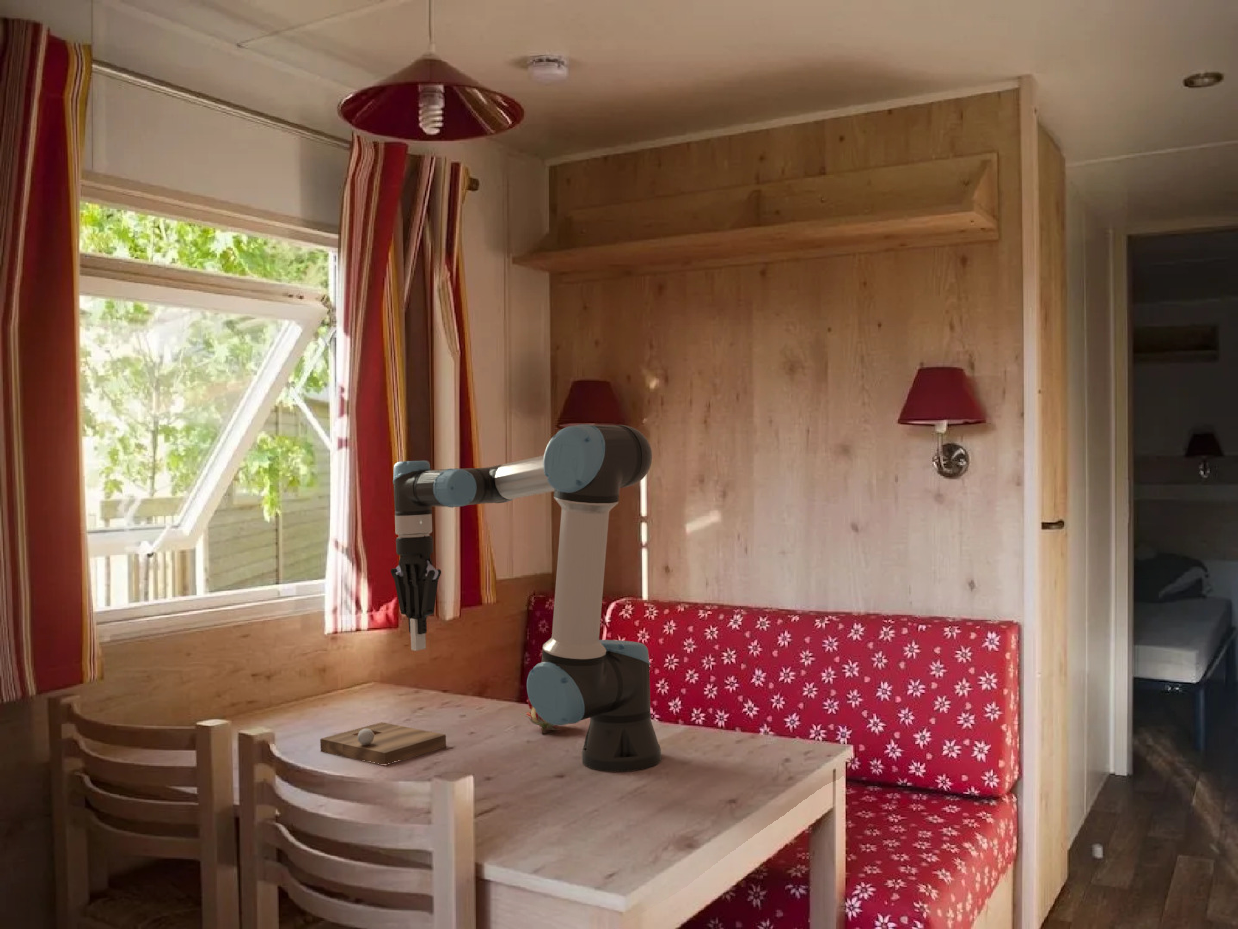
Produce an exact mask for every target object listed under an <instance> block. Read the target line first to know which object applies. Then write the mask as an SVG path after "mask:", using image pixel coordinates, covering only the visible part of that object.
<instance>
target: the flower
mask: <svg viewBox="0 0 1238 929" xmlns="http://www.w3.org/2000/svg"><path fill="white" fill-rule="evenodd" d="M526 702H527V704H528V708H529V710H530V711H529V712H526V717H527V719H529V721H530V722H531V723H532V724H534V725H535V726H539V727H541V730H540V733H541V734H542V735H545V733H546V730H547V729H549V730H550V731H558V730H561V731H562V728H557V727H558V726H559V725H553V724H550V723H548V722H546V721H545V720H543V719H542V718H541V717H540V716H539V715H538V714H537V713H536V710H535V708H534V707H532V705H531V702H530V700H529V698H528V699H526Z"/></svg>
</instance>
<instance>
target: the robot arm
mask: <svg viewBox="0 0 1238 929" xmlns="http://www.w3.org/2000/svg"><path fill="white" fill-rule="evenodd" d="M543 453H544V454H543V455H540V456H534V457H530V458H526V459H522V460H517V461H512V462H507V463H503V464H499V465H493V466H488V467H477V468H476V467H474V468H473V467H470V468H445V469H444V468H443V469H431V463H430V462H429V461H428V460H405V461H401V460H400V461H397V462H395V464H394V465H393V477H392V478H393V480H392V485H393V501H394V502H393V503H394V525H395V526H394V527H395V528H394V529H395V532H394V534H395V535H397V536H398V537H396V538H395V549H396V550H395V551H396V555H398V556H399V560H398V565H397V566H396V567H395V568H391V569H390V574H391V576H392V578H393V580H394V584H395V591H396V595H397V600H398V606H399V610H400V613H401V614H402V615H404V616H406V617H407V620H408V631H409V634H410V649H411V651H414V652H415V651H416V652H417V651H420V650H427V649H426V648H427V644H426V643H427V642H426V641H427V639H426V634H427V630H428V627H427V618H428V617H429V616H432V615H434V613H435V605H436V600H437V599H436V598H437V591H438V582H439V579H440V577H441V576H442V571H441V569H439V568H437V569H436V568H435V567H434V566H433V560H432V558H431V555H432V553H433V552H434V539H433V537H432V535H430V534H432V532H433V518H432V517H433V515H432V514H433V510H432V507H438V508H439V507H440V508H446V507H447V508H451V509H452V508H460V507H464V506H470V505H471V506H473V505H479V504H480V505H481V504H482V505H483V504H502V503H507V502H508V503H509V502H511V501H513V500H514V499H520V498H526V497H530V496H536V495H541V494H547V493H552V492H553V499H554V500H555V501H556V503H558V506H560V508H561V511H560V524H559V525H560V526H559V536H558V537H559V539H558V550H557V564H556V566H557V567H556V576H555V577H556V578H555V579H556V580H555V590H554V602H553V605H554V606H553V616H552V617H553V618H552V630H551V633H552V634H551V638H549V639H548V640H547V641H546V642H544V643H543V644H542V653H541V655H542V656H541V662H539V663H537V664H536V665H535V666H533V668H532V669H531V670H530V671H529V672H528V675H527V679H526V693H527V696H528V699H529V700H530V702H531V705H532V707H534V708H535V710H536V713H537V714H538V715H539V716H540V717H541V718H542V719H543V720H545V721H546V722H548V723H550V724H553V725H558V726H566V725H572V724H573V725H574V724H577V723H579V722H581V721H583V720H586V719H589V724H588V725H589V726H588V728H587V732H586V735H585V740H584V744H583V747H582V750H581V753H582V754H581V758H582V759H581V763H582V764H583V765H584V766H585V767H588V768H589V769H593V770H597V771H603V772H604V771H605V772H631V771H632V772H633V771H639V770H640V771H641V770H644V769H649V768H652V767H654V766H656V765H658V764H659V763H661V761H662V752H661V751H662V750H661V746H660V744H659V742H658V738H657V735H656V731H655V728H654V724H653V723H652V718H651V681H650V680H651V678H650V677H651V676H650V667H651V662H650V657H649V656H650V655H649V649H648V647H647V646H646V644H645V643H642V642H638V641H630V640H619V639H618V640H616V639H600V634H601V633H600V632H601V630H600V629H601V620H602V619H601V618H602V605H603V604H602V603H603V595H604V594H603V593H604V592H603V591H604V579H605V570H606V569H605V568H606V556H607V554H606V553H607V544H608V532H609V520H610V519H609V518H610V512H611V511H612V509H613V508H614V507H616V506H617V505H618V504H619V502H620V501H619V500H620V489H623V488H628V487H631V486H634V485H636V484H638V483H640V482H641V481H642V480H643V479H644V478H645V477H646V475H648V473H649V470H650V469H651V466H652V463H653V452H652V447H651V444H650V443H649V441H648V439H647V437H646V436H645V435H644V434H643V433H642V432H641V431H640V430H639V429H636V428H635V427H632V426H629V425H624V424H614V425H613V424H611V425H610V424H609V425H608V424H588V423H587V424H583V423H581V424H579V425H577V424H576V425H569V426H566V427H564V428H562V429H560V430H558V431H557V432H556V434H554V435H553V436H552V437H551V438H550V440H549V441H548V443H547V445H546V448H545V450H544V452H543Z"/></svg>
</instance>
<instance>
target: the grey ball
mask: <svg viewBox="0 0 1238 929" xmlns="http://www.w3.org/2000/svg"><path fill="white" fill-rule="evenodd" d="M373 739H374V734H373V732H372V731H371V730H370V729H362V730H361V731H360V732H359V733H358V741H359V743H361V744H362V745H368V744H370V743H371V742H372V741H373Z"/></svg>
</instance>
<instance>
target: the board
mask: <svg viewBox="0 0 1238 929" xmlns="http://www.w3.org/2000/svg"><path fill="white" fill-rule="evenodd" d="M362 729H370V730H371V731H372V732H373V733H374V734H375V735H374V739H373V741H372V742H371V743H370V744H368V745H362V744H361V743H359V741H358V733H359V732H360V731H361V730H362ZM446 735H447V734H443V733H441V732H440V733H438V732H435V731H434V732H433V731H427V730H422V729H417V728H413V727H407V726H402V725H397V724H392V723H387V722H381V721H380V722H378V723H377V722H376V723H374V724H370V725H367V726H364V727H363V726H362V727H358V728H355V729H351V730H348V731H344V732H340V733H337V734H333V735H329V736H326V737H321V738H320V739H319V743H320V745H319V746H320V752H324V753H328V754H331V755H332V754H333V755H336V754H337V755H336V756H340V755H342V756H341V757H345V756H346V757H345V758H349V757H350V759H353V758H354V759H353V760H359V761H362V760H365V761H364V762H366V761H371V762H375V763H379V764H388V763H392V762H394V761H398V760H402V761H405V760H408V758H409V759H412V758H414V757H418V756H420V755H421V754H422V755H424V754H427V753H430V752H434V751H437V750H440V749H443V748H446V747H447V736H446ZM417 755H418V756H417ZM422 755H421V756H422ZM411 757H412V758H411ZM404 759H405V760H404ZM371 762H370V763H371ZM375 763H374V764H375ZM379 764H378V765H379Z"/></svg>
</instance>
